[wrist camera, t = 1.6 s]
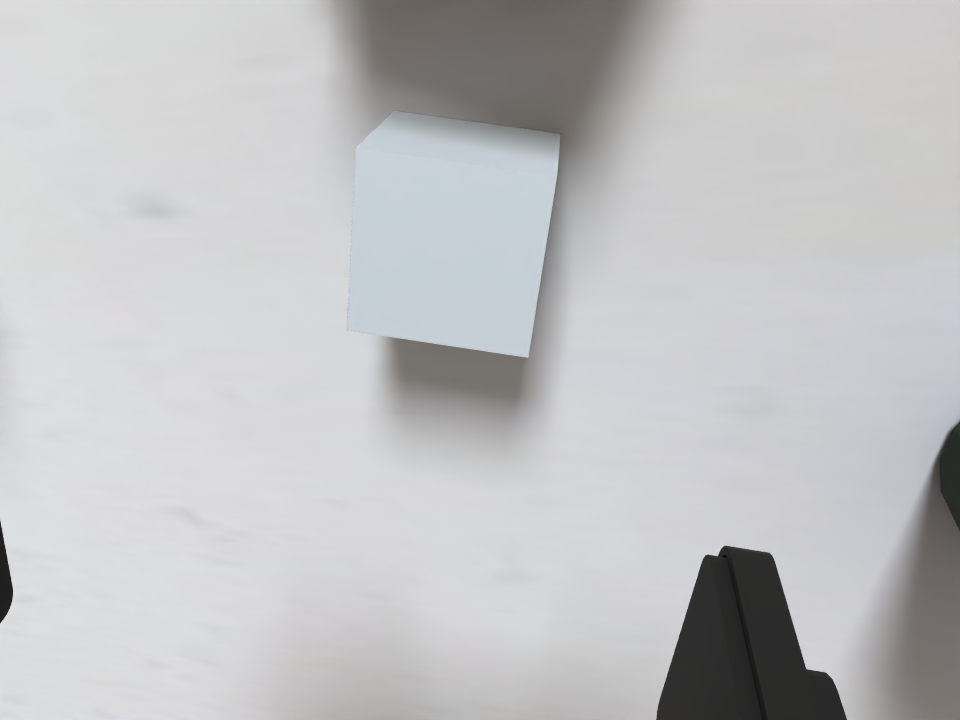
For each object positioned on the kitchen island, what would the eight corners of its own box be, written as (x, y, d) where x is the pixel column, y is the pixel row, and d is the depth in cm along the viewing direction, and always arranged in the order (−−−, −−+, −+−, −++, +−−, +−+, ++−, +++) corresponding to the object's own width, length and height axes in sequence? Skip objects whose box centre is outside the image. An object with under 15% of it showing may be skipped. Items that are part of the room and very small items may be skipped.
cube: (536, 288, 28) (528, 357, 23) (383, 266, 28) (346, 330, 23) (560, 133, 25) (557, 176, 21) (394, 110, 25) (355, 148, 21)
